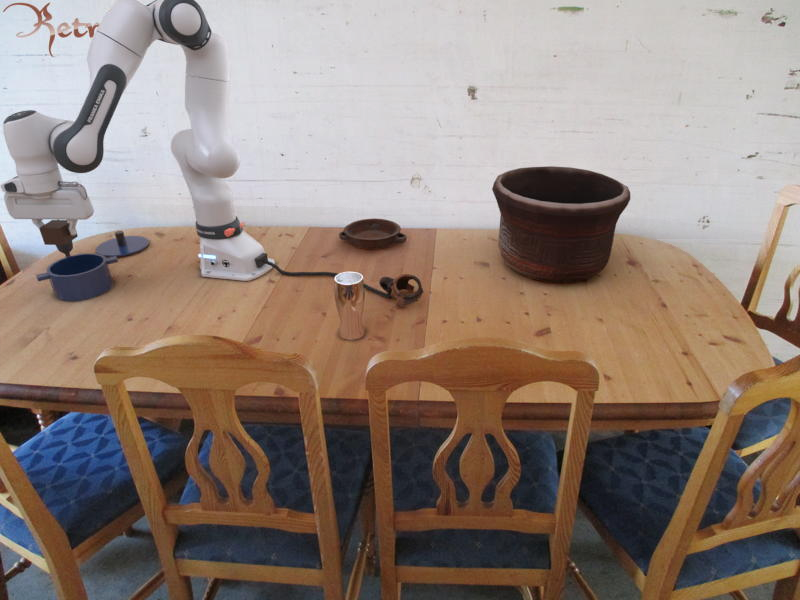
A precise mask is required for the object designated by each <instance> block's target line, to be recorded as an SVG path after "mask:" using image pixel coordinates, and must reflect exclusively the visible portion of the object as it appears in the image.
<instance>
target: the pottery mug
mask: <svg viewBox="0 0 800 600" xmlns="http://www.w3.org/2000/svg"><path fill="white" fill-rule="evenodd" d="M411 280H413V281H415V282H416V284H417V287H418V288H417V290H416V291H415V292H414V289H415V286H414V285H413V284H410V283H409V282H410V281H411ZM378 283H379V286H380V288H381V289H383V290H384V291H385V293H387V294H388V295H391V294H393V296H394V297H395V298H396V299H397V300H396V303H395V305H396V307H397V308H400V309H401V308H403V307H404V306H405V307H406V306H409V305H412V304H414V303H416V302H418V301H419V299H421V297H422V296H423V293H424V289H423V286H422V282H421V280H420V278H418V277H417V276H416V275H414V274H409V273H403V274H402V273H401V274H400V275H398V276H396V277H395V278H393V277H390V276H382V277H381V278H380V280H379V282H378ZM401 291H409V292H410V293H411V294H406V293H404V294H403V296H402V295H401Z"/></svg>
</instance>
